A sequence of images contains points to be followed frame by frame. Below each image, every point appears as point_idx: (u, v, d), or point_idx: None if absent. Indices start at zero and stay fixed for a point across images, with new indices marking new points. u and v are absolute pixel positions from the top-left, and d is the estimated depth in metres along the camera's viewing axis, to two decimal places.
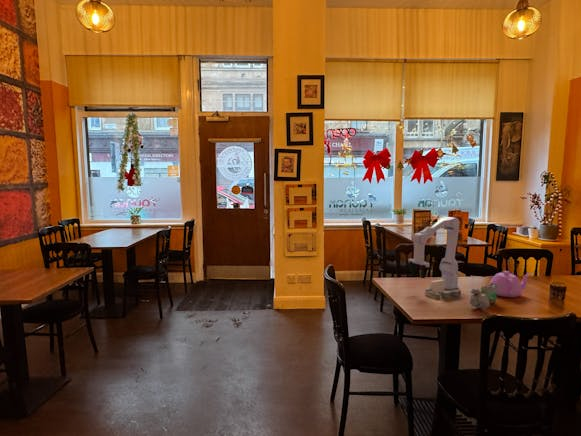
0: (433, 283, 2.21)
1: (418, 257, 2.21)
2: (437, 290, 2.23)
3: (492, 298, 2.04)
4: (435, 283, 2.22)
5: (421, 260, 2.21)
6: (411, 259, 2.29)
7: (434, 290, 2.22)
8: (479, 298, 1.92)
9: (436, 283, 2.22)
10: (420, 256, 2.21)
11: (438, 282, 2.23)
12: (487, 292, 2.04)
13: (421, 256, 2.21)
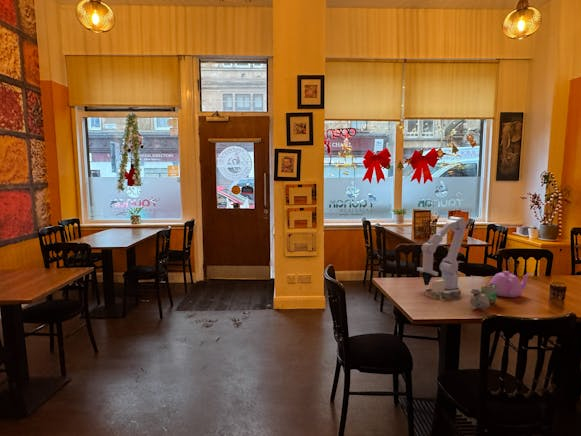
0: (433, 283, 2.21)
1: (427, 266, 2.28)
2: (437, 290, 2.23)
3: (492, 298, 2.04)
4: (435, 283, 2.22)
5: (430, 269, 2.28)
6: (420, 268, 2.35)
7: (434, 290, 2.22)
8: (479, 298, 1.92)
9: (436, 283, 2.22)
10: (429, 265, 2.27)
11: (438, 282, 2.23)
12: (487, 292, 2.04)
13: (430, 265, 2.27)
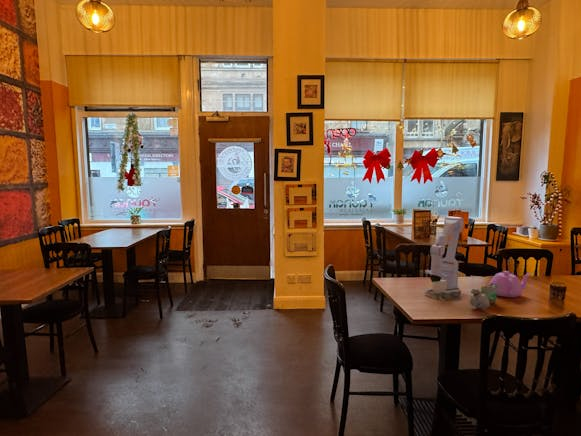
0: (435, 284, 2.20)
1: (435, 269, 2.22)
2: (439, 291, 2.22)
3: (492, 298, 2.04)
4: (437, 284, 2.21)
5: (439, 272, 2.22)
6: (428, 270, 2.29)
7: (436, 291, 2.21)
8: (479, 298, 1.92)
9: (438, 284, 2.21)
10: (438, 268, 2.21)
11: (440, 283, 2.22)
12: (487, 292, 2.04)
13: (439, 268, 2.22)
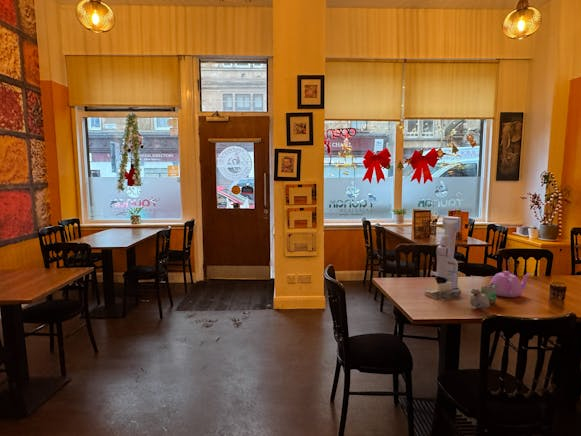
0: (441, 285, 2.17)
1: (441, 270, 2.18)
2: None
3: (492, 298, 2.04)
4: (443, 285, 2.17)
5: (444, 273, 2.18)
6: (433, 272, 2.26)
7: None
8: (479, 298, 1.92)
9: (444, 285, 2.18)
10: (443, 269, 2.18)
11: (446, 284, 2.18)
12: (487, 292, 2.04)
13: (444, 269, 2.18)
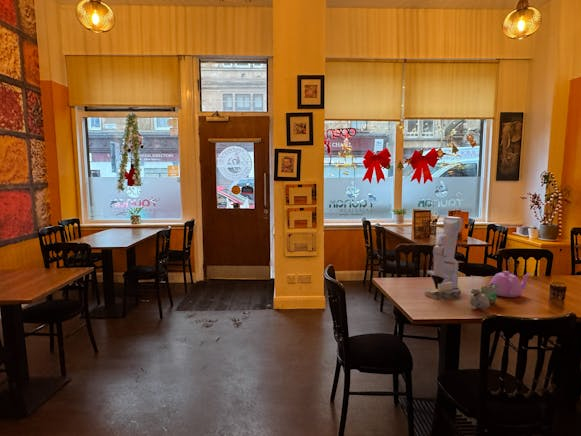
0: (441, 285, 2.17)
1: (438, 270, 2.20)
2: None
3: (492, 298, 2.04)
4: (443, 285, 2.17)
5: (441, 273, 2.20)
6: (430, 271, 2.28)
7: None
8: (479, 298, 1.92)
9: (444, 285, 2.18)
10: (440, 269, 2.20)
11: (446, 284, 2.18)
12: (487, 292, 2.04)
13: (441, 269, 2.20)
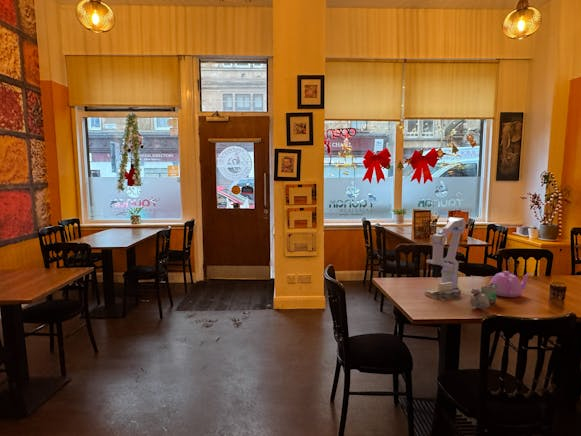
0: (441, 285, 2.17)
1: (437, 258, 2.21)
2: None
3: (492, 298, 2.04)
4: (443, 285, 2.17)
5: (440, 261, 2.21)
6: (429, 260, 2.29)
7: None
8: (479, 298, 1.92)
9: (444, 285, 2.18)
10: (439, 257, 2.21)
11: (446, 284, 2.18)
12: (487, 292, 2.04)
13: (440, 257, 2.21)
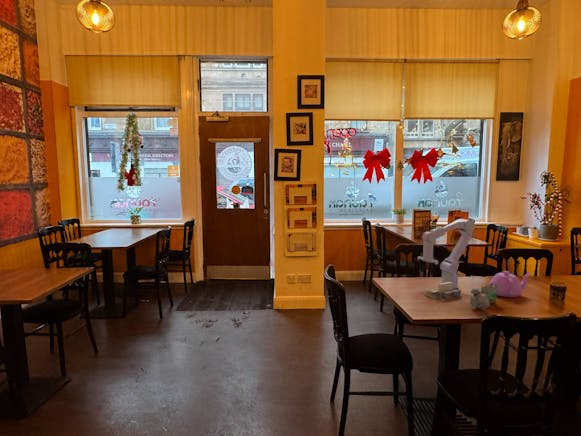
0: (441, 285, 2.17)
1: (427, 255, 2.30)
2: None
3: (492, 298, 2.04)
4: (443, 285, 2.17)
5: (430, 258, 2.30)
6: (420, 257, 2.37)
7: None
8: (479, 298, 1.92)
9: (444, 285, 2.18)
10: (429, 254, 2.29)
11: (446, 284, 2.18)
12: (487, 292, 2.04)
13: (430, 254, 2.29)
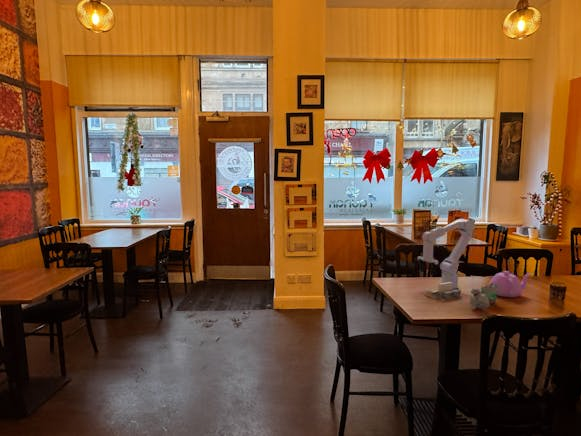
0: (441, 285, 2.17)
1: (427, 255, 2.30)
2: None
3: (492, 298, 2.04)
4: (443, 285, 2.17)
5: (430, 258, 2.30)
6: (420, 257, 2.37)
7: None
8: (479, 298, 1.92)
9: (444, 285, 2.18)
10: (429, 254, 2.29)
11: (446, 284, 2.18)
12: (487, 292, 2.04)
13: (430, 254, 2.29)
